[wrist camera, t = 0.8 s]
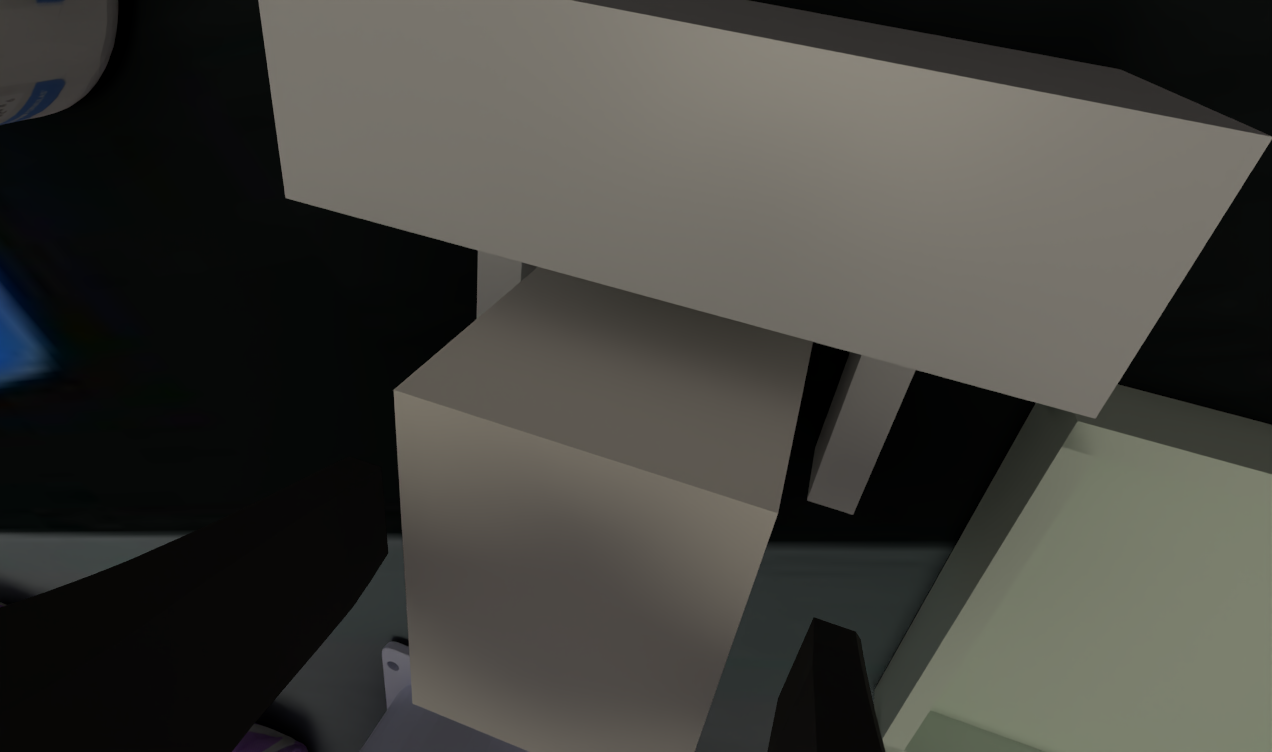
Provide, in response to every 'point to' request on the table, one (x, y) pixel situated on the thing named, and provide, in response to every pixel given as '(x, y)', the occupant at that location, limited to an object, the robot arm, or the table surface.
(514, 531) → the taupe rectangular block
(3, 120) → the supplement tub
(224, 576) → the robot arm
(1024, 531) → the tray
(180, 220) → the table surface
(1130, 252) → the dock
